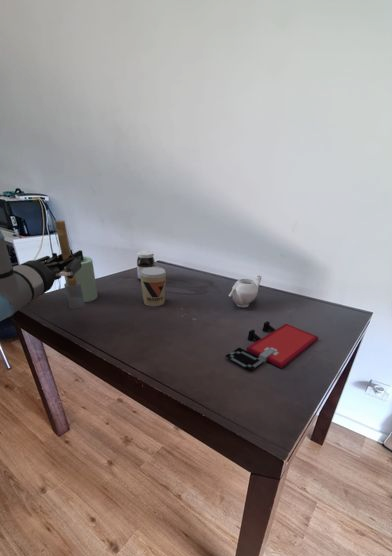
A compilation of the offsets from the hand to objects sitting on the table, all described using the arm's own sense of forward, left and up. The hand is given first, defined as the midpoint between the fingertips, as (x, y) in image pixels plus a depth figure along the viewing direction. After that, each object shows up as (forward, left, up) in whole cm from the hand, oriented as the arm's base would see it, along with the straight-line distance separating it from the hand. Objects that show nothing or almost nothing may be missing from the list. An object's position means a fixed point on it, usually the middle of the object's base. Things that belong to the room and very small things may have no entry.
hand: (76, 254), depth 84 cm
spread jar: (+8, +41, -20) cm, 46 cm away
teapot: (+50, +25, -20) cm, 60 cm away
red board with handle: (+60, -4, -20) cm, 64 cm away
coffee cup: (+17, +18, -20) cm, 32 cm away
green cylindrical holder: (-10, +15, -20) cm, 27 cm away
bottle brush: (0, -5, -14) cm, 15 cm away
